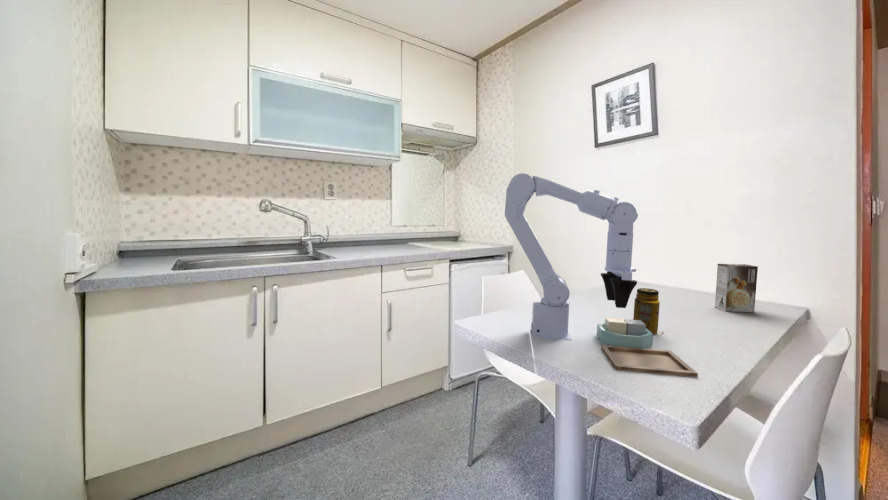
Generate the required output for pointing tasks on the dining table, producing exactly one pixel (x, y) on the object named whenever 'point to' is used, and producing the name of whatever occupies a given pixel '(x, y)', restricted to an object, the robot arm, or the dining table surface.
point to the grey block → (635, 327)
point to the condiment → (647, 309)
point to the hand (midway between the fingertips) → (616, 303)
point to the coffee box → (736, 287)
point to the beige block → (616, 325)
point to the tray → (647, 361)
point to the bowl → (624, 338)
